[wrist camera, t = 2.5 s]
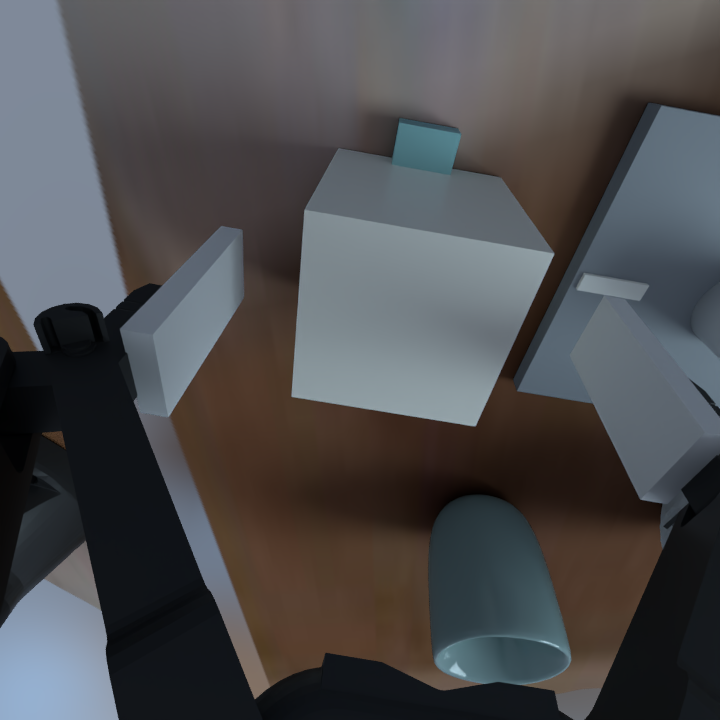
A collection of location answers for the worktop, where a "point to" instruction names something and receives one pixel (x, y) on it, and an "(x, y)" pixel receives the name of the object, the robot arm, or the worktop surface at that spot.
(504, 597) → the cup
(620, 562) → the worktop surface
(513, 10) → the worktop surface
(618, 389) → the robot arm
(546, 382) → the post plate
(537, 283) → the grey cube
